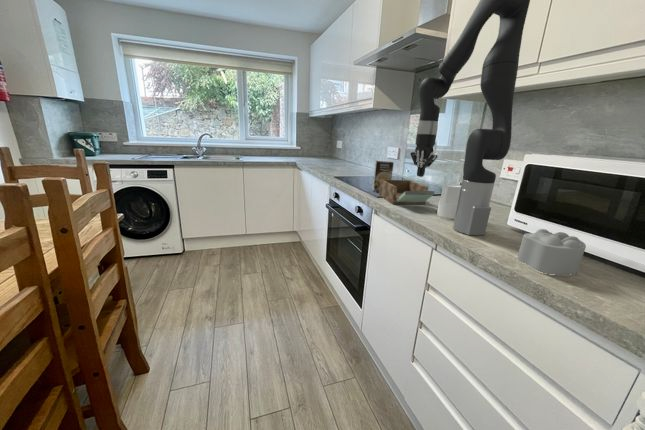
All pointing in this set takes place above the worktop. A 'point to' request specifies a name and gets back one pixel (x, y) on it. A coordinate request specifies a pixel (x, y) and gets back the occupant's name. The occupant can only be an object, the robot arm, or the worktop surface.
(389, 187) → the box
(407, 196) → the panel
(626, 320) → the worktop surface
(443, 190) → the cylinder with rectangular tab
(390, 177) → the coffee box
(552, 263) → the lumpy-topped squat cylinder
